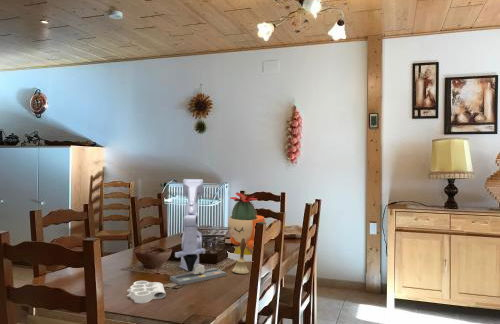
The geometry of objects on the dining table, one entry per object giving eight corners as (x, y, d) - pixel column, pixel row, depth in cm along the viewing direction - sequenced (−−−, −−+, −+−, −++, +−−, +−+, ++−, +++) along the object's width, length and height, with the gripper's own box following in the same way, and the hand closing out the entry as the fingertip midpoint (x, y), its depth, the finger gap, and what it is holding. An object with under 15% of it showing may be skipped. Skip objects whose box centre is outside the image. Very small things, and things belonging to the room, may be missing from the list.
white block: (189, 272, 188) (189, 265, 188) (199, 270, 191) (199, 263, 191) (197, 275, 183) (197, 269, 183) (207, 273, 186) (207, 267, 186)
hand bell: (251, 270, 200) (253, 238, 200) (245, 274, 192) (248, 240, 192) (235, 268, 203) (238, 236, 203) (229, 272, 195) (231, 238, 195)
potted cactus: (243, 263, 213) (244, 196, 212) (218, 254, 230) (219, 192, 229) (273, 257, 227) (275, 194, 226) (248, 249, 244) (249, 190, 243)
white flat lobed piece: (166, 301, 158) (126, 305, 153) (162, 286, 175) (126, 289, 170) (166, 293, 157) (126, 296, 153) (162, 279, 175) (126, 281, 170)
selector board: (170, 279, 183) (170, 275, 183) (215, 271, 198) (215, 266, 198) (179, 285, 176) (179, 280, 176) (225, 275, 191) (225, 271, 191)
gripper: (180, 244, 178) (180, 275, 178) (208, 240, 187) (208, 270, 187) (172, 241, 183) (172, 271, 183) (200, 238, 192) (200, 266, 192)
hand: (190, 271), depth 186 cm, fingers closed
